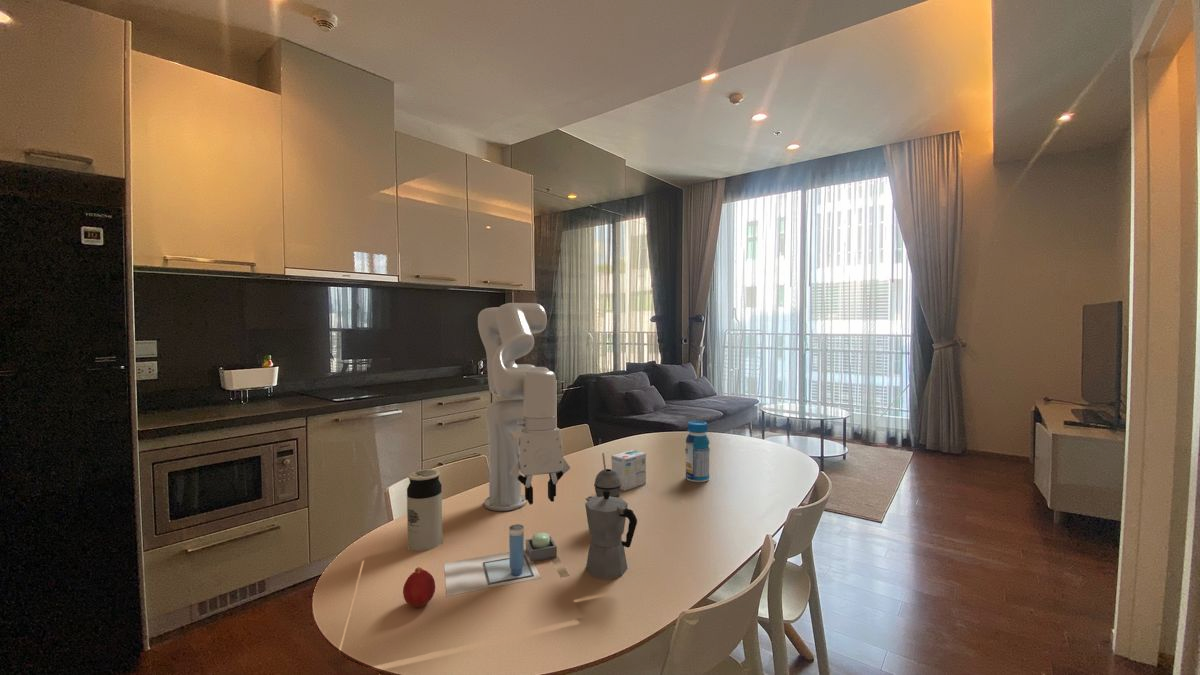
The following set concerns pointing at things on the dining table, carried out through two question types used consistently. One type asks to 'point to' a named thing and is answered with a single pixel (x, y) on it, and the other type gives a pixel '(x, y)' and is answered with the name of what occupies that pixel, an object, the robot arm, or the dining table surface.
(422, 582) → the onion
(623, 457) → the light bulb box
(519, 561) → the marker
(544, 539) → the button
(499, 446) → the robot arm
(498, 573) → the clipboard
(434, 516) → the travel mug
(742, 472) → the dining table surface
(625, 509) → the coffeepot
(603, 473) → the beverage cup
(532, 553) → the button housing
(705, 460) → the beverage bottle
